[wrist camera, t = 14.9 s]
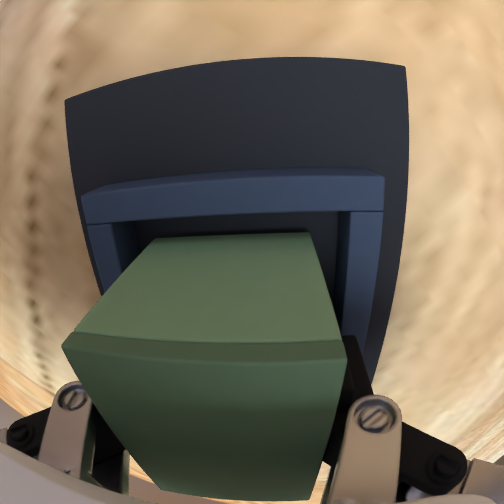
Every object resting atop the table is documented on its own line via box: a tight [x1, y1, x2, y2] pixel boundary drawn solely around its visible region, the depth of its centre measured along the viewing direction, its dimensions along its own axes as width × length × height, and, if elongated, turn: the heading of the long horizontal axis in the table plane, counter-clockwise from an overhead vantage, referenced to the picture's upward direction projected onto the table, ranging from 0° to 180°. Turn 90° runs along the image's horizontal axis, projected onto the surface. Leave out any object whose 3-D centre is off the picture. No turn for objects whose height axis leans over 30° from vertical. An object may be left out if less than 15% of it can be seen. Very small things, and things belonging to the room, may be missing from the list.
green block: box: [61, 232, 348, 501], centre depth 8 cm, size 7×5×6 cm
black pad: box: [65, 57, 409, 384], centre depth 11 cm, size 18×12×3 cm, turn 4°
